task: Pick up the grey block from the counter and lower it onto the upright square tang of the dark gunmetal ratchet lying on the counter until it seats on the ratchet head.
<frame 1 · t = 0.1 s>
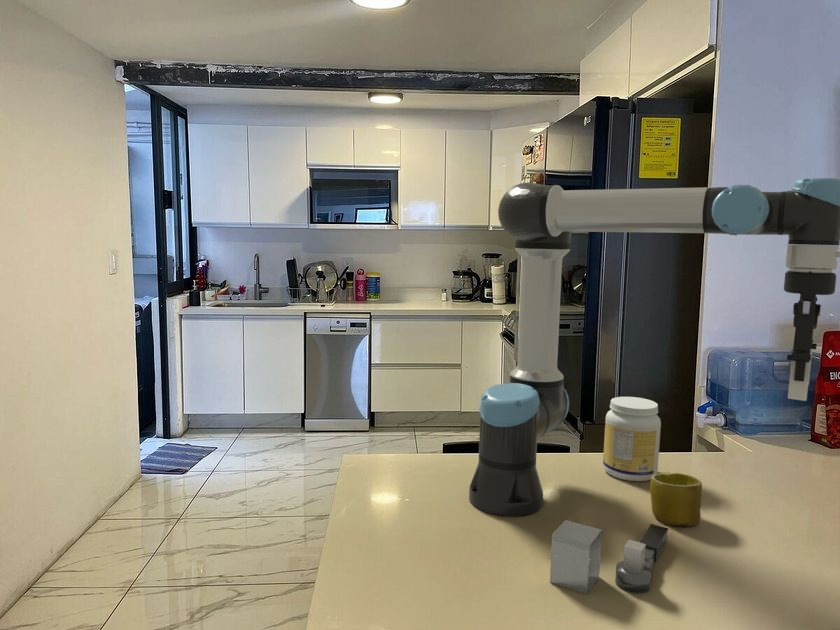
hand: (798, 391, 110), 28 cm above the counter, fingers open, 13 cm apart
supplement tub: (629, 473, 146), on the counter
grey block: (574, 579, 100), on the counter
mug: (671, 515, 124), on the counter
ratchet: (632, 584, 99), on the counter
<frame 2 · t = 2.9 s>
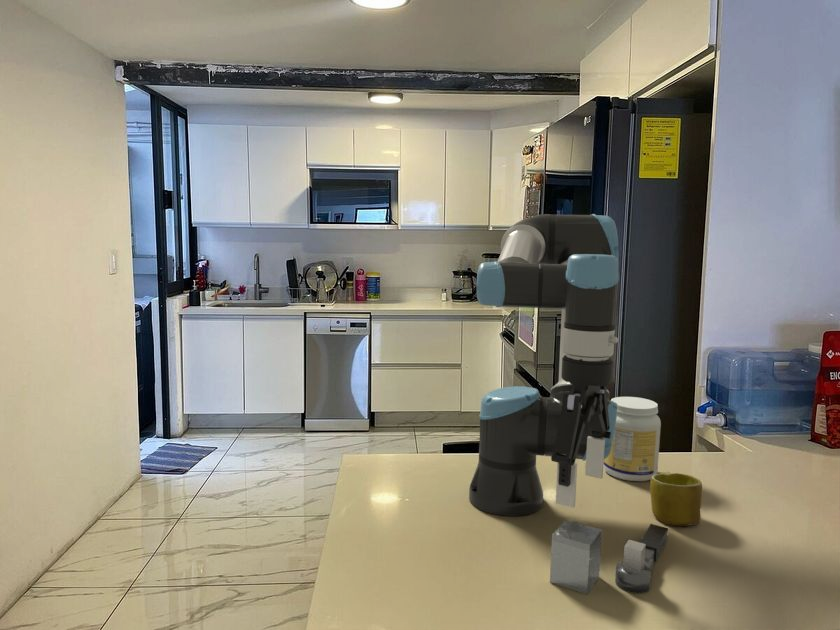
hand: (580, 490, 98), 15 cm above the counter, fingers open, 13 cm apart
nothing on the counter moved.
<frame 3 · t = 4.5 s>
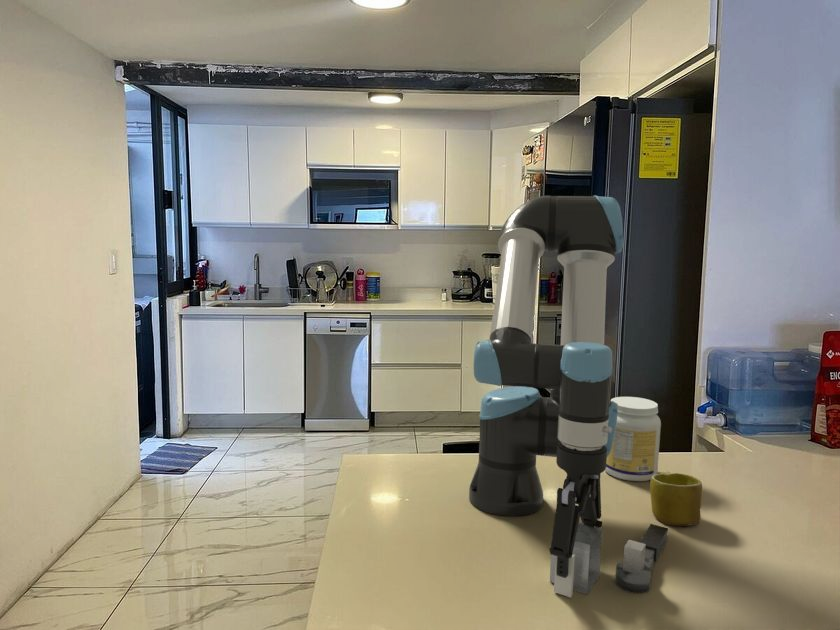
hand: (574, 578, 100), 0 cm above the counter, fingers open, 10 cm apart
nothing on the counter moved.
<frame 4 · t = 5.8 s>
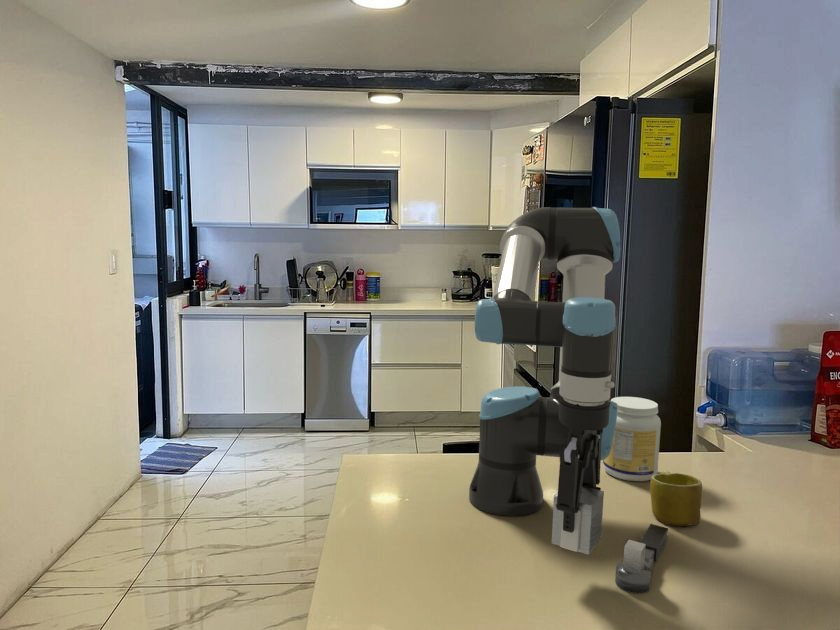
hand: (576, 538, 100), 6 cm above the counter, fingers closed on grey block, 6 cm apart
grey block: (576, 540, 100), point 6 cm above the counter, touching gripper
everything else where it was.
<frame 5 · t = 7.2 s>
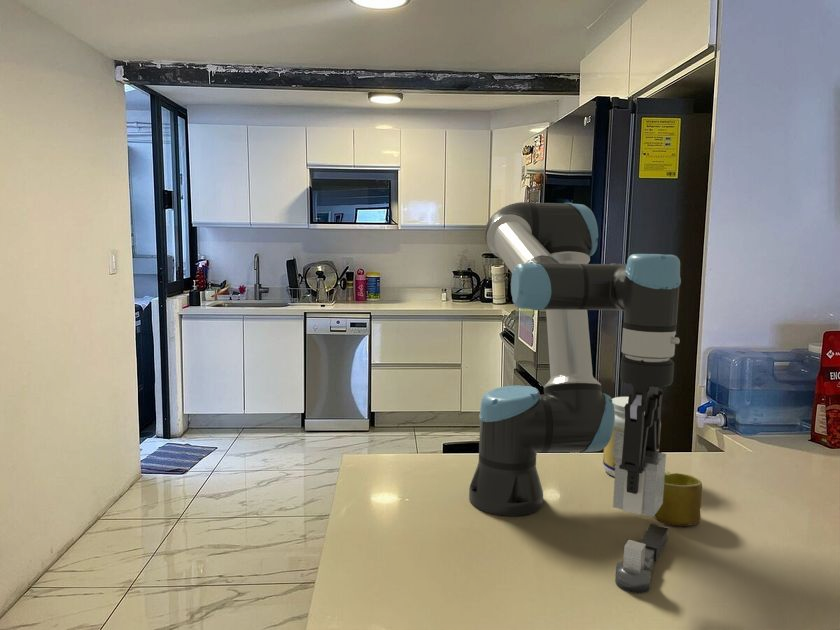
hand: (638, 503, 97), 13 cm above the counter, fingers closed on grey block, 6 cm apart
grey block: (638, 505, 97), point 13 cm above the counter, touching gripper
everything else where it was.
when the fingers open (4 cm above the counter, at t = 9.0 s): grey block stays where it is, resting on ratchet.
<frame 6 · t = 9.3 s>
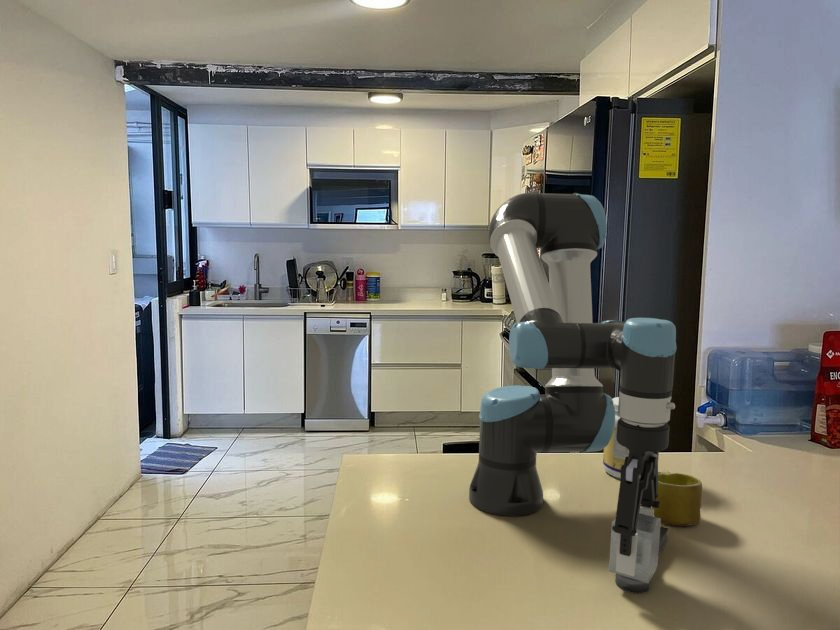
hand: (634, 558, 98), 4 cm above the counter, fingers open, 9 cm apart
grey block: (633, 568, 99), point 2 cm above the counter, touching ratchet
everything else where it was.
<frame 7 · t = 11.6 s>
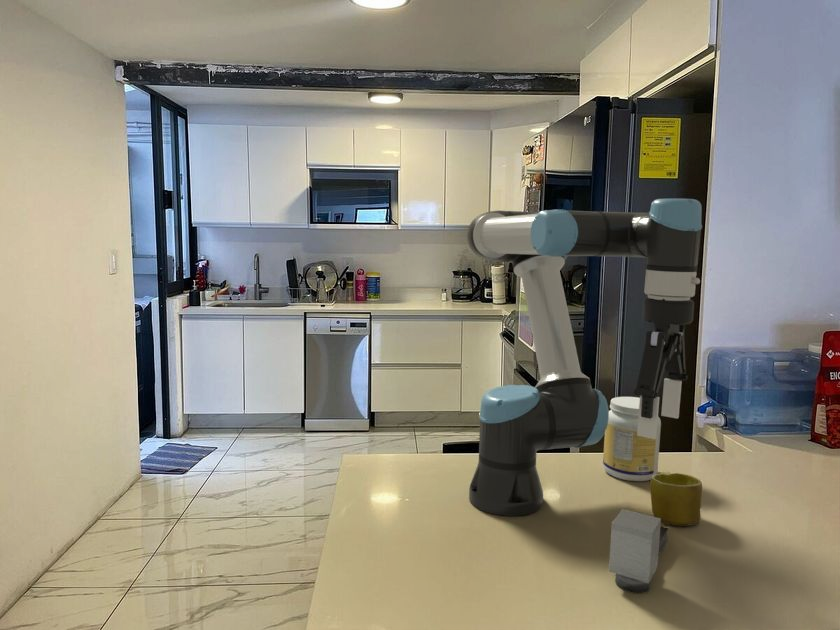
hand: (658, 426, 103), 24 cm above the counter, fingers open, 13 cm apart
nothing on the counter moved.
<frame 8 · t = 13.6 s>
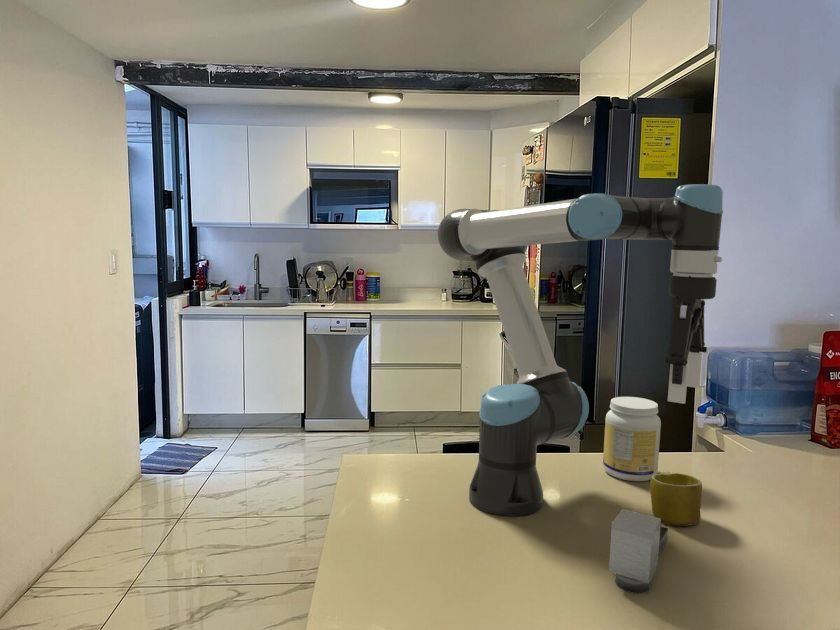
hand: (684, 394, 112), 27 cm above the counter, fingers open, 13 cm apart
nothing on the counter moved.
at the end: grey block 0.1 cm off-centre on the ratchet, point 2.5 cm above the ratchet's base; grey block tilted 0°; the gripper is holding nothing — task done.
